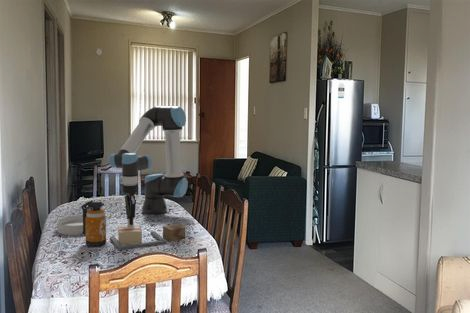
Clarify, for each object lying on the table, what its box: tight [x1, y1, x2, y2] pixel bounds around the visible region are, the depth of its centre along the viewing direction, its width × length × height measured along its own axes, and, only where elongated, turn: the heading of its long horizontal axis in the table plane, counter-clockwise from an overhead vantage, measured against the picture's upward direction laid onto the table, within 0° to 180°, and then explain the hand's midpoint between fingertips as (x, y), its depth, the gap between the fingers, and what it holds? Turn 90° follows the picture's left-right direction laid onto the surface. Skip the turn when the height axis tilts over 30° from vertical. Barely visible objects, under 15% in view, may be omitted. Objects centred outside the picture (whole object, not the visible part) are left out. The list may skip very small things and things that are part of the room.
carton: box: [117, 226, 143, 246], centre depth 190 cm, size 10×8×6 cm
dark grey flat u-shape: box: [109, 230, 167, 251], centre depth 191 cm, size 22×18×1 cm
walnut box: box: [162, 223, 186, 243], centre depth 196 cm, size 8×8×6 cm
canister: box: [80, 200, 107, 247], centre depth 185 cm, size 9×11×20 cm
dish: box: [56, 214, 83, 236], centre depth 209 cm, size 22×22×5 cm
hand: (130, 230), depth 203 cm, fingers closed
